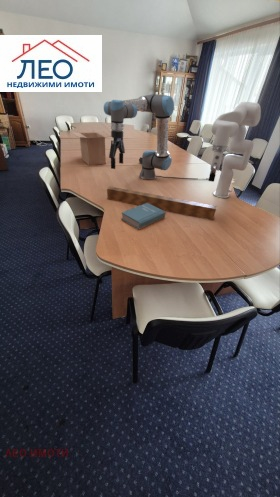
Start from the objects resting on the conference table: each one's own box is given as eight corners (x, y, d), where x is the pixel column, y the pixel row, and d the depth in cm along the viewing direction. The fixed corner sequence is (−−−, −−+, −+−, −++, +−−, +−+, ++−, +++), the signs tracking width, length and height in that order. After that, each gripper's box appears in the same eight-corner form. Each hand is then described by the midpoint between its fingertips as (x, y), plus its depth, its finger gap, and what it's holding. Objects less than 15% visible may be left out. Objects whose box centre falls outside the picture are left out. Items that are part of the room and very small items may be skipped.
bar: (107, 199, 162) (106, 188, 157) (110, 196, 166) (109, 186, 161) (213, 220, 146) (216, 209, 141) (213, 216, 149) (216, 206, 145)
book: (146, 209, 152) (147, 202, 149) (164, 218, 143) (165, 211, 140) (121, 219, 138) (121, 212, 135) (139, 230, 130) (139, 222, 127)
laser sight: (158, 166, 235) (159, 156, 229) (137, 164, 238) (138, 154, 232) (159, 164, 243) (160, 154, 237) (139, 161, 245) (140, 152, 239)
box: (116, 165, 229) (116, 136, 213) (83, 168, 214) (80, 137, 198) (102, 154, 259) (101, 128, 243) (71, 156, 244) (68, 129, 228)
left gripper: (114, 134, 125) (115, 171, 137) (130, 128, 144) (129, 162, 156) (102, 132, 126) (104, 170, 139) (119, 127, 145) (119, 160, 158)
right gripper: (226, 152, 116) (217, 184, 126) (226, 146, 129) (218, 175, 139) (211, 150, 117) (204, 182, 127) (213, 144, 131) (206, 173, 141)
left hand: (117, 165), depth 148 cm, fingers open, 13 cm apart
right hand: (211, 178), depth 133 cm, fingers open, 9 cm apart
